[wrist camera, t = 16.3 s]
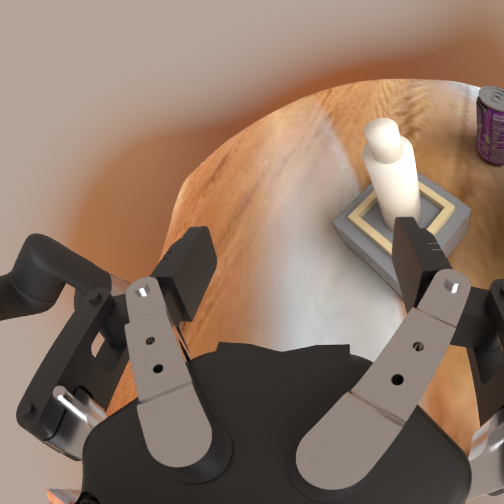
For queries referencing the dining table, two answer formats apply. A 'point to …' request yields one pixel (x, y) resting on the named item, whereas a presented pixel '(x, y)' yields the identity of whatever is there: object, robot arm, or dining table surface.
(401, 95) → the dining table surface
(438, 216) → the display riser
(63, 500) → the cracker box
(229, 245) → the dining table surface
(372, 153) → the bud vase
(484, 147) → the beverage can
